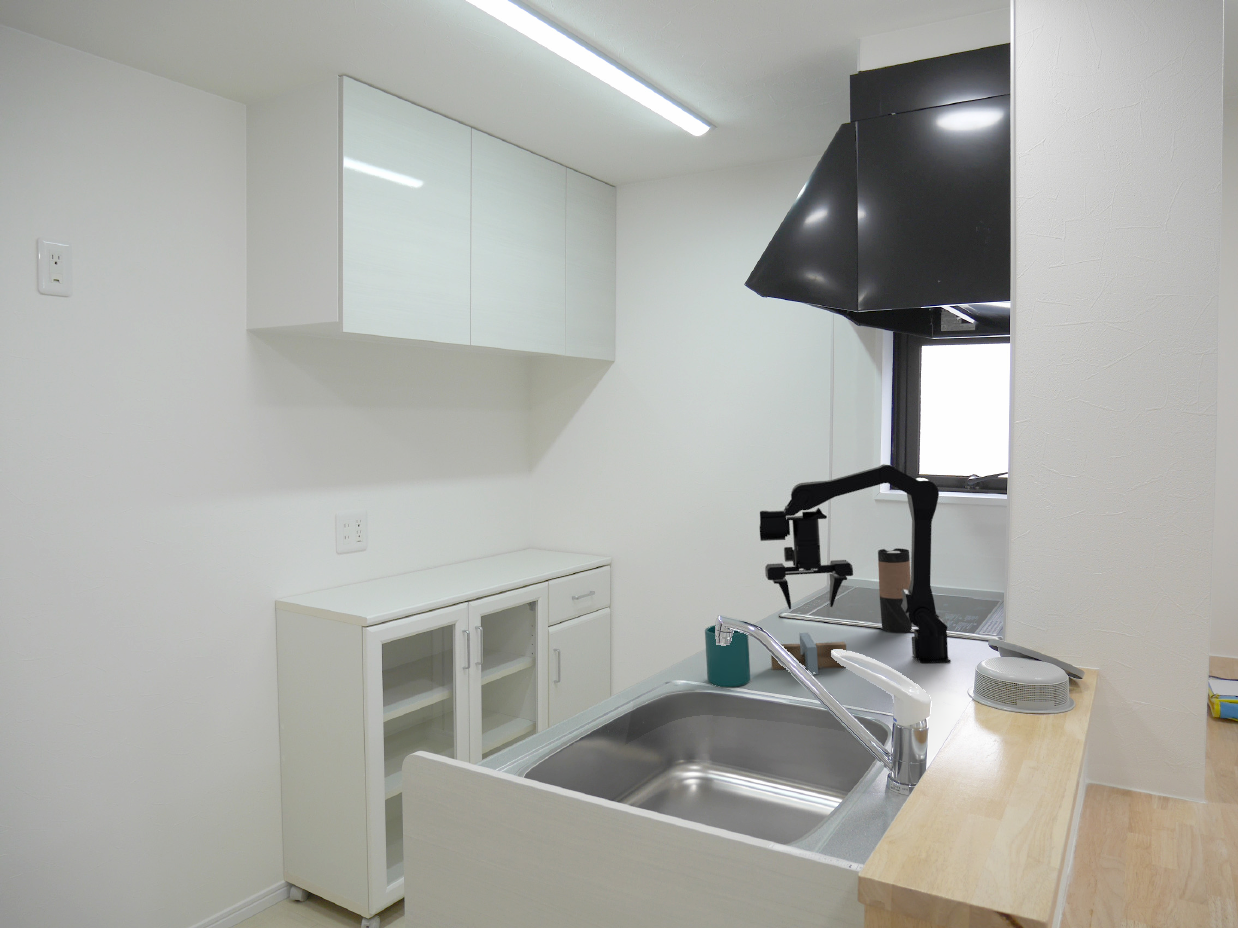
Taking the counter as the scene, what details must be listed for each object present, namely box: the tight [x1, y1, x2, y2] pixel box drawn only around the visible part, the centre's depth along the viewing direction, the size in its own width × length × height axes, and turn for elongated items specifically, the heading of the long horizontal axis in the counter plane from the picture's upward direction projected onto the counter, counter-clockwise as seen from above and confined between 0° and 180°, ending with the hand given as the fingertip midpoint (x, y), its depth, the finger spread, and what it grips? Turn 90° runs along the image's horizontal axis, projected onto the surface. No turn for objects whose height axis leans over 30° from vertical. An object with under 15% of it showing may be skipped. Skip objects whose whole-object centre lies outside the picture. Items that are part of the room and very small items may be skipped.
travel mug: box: [877, 547, 913, 634], centre depth 206 cm, size 8×8×20 cm
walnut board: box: [770, 641, 847, 671], centre depth 180 cm, size 16×2×5 cm, turn 85°
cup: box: [704, 624, 751, 688], centre depth 174 cm, size 9×12×11 cm
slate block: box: [799, 632, 819, 675], centre depth 180 cm, size 12×2×6 cm, turn 175°
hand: (810, 607), depth 185 cm, fingers open, 9 cm apart
